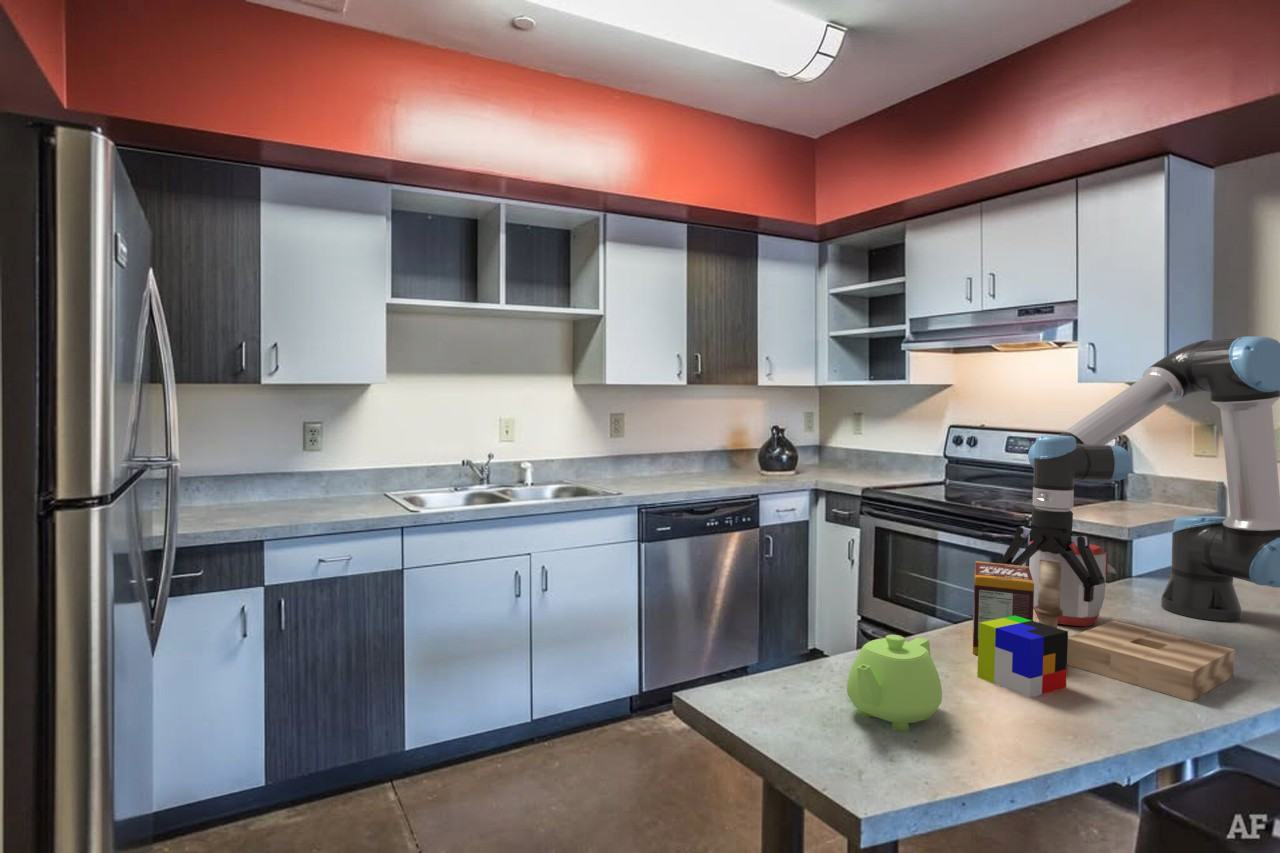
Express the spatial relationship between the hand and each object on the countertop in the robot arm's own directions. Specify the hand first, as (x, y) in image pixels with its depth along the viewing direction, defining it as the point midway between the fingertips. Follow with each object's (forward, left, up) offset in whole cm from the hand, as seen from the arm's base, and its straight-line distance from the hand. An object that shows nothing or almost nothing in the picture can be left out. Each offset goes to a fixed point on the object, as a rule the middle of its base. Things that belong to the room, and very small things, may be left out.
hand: (1048, 608), depth 153 cm
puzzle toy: (+30, +10, -6) cm, 32 cm away
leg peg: (0, 0, -6) cm, 6 cm away
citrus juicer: (-16, -3, -6) cm, 18 cm away
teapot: (+61, +6, -6) cm, 62 cm away
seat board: (+4, +20, -6) cm, 21 cm away
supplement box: (+15, -2, -6) cm, 16 cm away
